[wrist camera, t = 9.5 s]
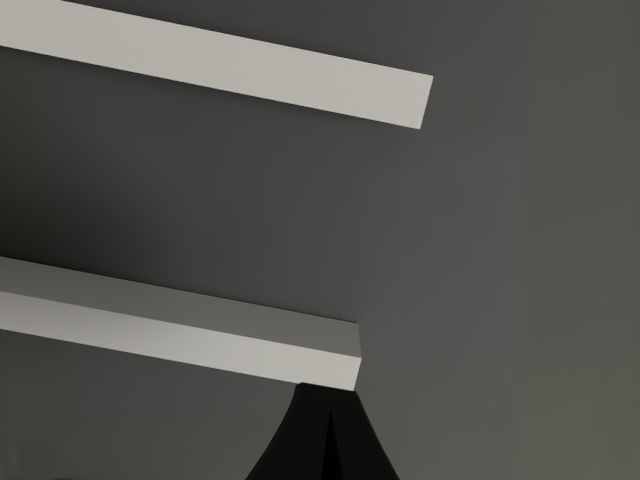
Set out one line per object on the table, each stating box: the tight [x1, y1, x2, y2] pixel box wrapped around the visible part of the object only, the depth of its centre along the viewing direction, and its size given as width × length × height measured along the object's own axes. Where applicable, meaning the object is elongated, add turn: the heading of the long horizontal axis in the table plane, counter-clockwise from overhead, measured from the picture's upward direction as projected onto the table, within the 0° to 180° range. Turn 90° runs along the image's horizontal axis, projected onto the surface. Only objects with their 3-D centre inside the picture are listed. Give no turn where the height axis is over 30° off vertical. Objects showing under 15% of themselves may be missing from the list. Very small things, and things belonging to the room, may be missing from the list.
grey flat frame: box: [0, 0, 433, 391], centre depth 15 cm, size 11×26×2 cm, turn 79°
